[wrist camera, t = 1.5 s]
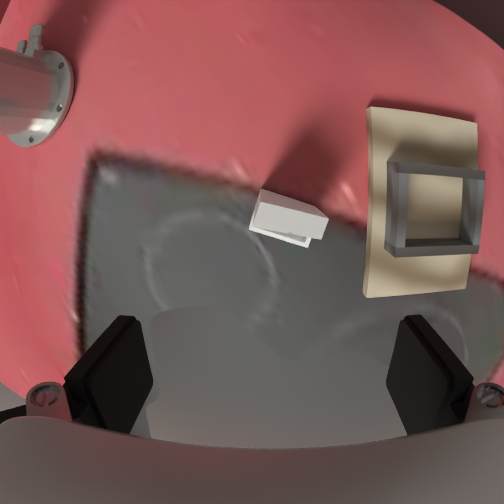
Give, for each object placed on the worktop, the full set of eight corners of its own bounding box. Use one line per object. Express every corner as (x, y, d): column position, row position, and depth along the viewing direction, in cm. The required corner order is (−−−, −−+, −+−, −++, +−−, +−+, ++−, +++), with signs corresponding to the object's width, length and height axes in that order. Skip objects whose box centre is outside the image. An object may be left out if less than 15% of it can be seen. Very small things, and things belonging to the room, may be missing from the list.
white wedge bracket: (215, 177, 28) (260, 201, 21) (298, 198, 33) (354, 225, 26) (204, 214, 29) (244, 251, 22) (288, 229, 34) (340, 263, 27)
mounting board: (365, 108, 27) (381, 101, 23) (469, 123, 27) (492, 122, 22) (362, 292, 33) (375, 310, 29) (459, 283, 33) (478, 298, 28)
